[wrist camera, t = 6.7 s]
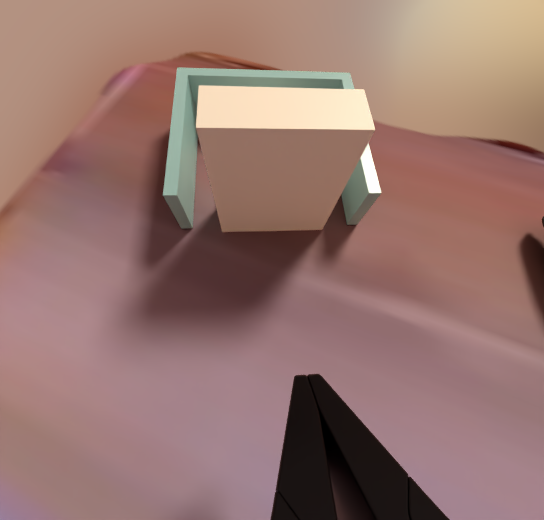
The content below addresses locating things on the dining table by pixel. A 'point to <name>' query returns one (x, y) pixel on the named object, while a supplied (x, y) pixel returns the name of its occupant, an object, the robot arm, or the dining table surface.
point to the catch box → (184, 114)
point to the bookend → (280, 152)
